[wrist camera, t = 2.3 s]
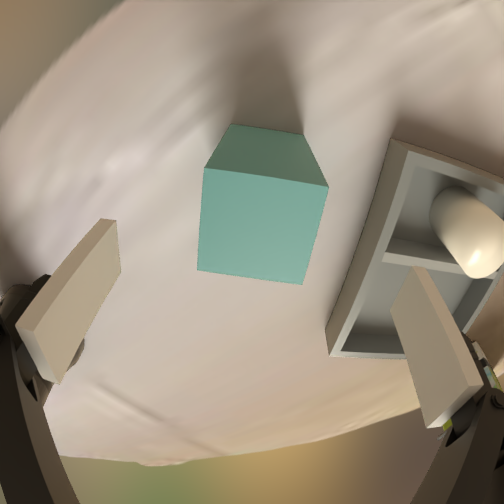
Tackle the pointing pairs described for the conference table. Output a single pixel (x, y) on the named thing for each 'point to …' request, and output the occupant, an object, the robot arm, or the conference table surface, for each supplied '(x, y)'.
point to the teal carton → (260, 205)
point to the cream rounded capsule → (468, 231)
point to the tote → (408, 252)
